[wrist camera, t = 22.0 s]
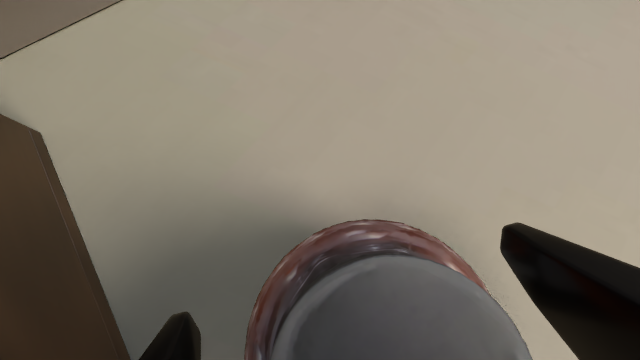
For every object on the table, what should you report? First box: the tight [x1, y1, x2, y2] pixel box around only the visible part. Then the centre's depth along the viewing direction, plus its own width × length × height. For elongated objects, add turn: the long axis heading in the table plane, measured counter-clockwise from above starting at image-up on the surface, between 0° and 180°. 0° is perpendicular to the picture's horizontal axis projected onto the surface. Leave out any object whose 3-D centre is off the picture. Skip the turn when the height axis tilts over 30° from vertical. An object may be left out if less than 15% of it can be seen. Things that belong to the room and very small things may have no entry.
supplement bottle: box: [244, 219, 532, 360], centre depth 10 cm, size 6×6×11 cm
